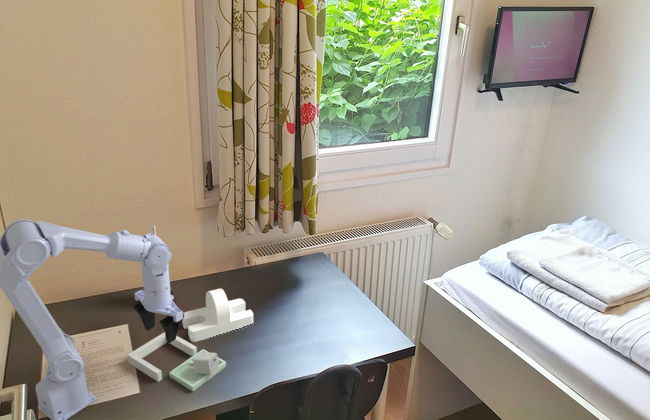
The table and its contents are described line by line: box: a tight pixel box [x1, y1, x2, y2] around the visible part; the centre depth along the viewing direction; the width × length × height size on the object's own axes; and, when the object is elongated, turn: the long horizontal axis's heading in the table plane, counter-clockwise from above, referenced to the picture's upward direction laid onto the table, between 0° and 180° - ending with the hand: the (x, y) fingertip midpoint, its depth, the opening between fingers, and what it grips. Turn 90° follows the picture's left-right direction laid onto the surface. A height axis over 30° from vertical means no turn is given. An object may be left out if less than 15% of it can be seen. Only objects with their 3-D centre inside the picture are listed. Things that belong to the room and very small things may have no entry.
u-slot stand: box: [181, 287, 254, 343], centre depth 143 cm, size 10×18×11 cm, turn 121°
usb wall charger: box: [187, 351, 219, 374], centre depth 126 cm, size 4×7×4 cm, turn 72°
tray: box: [169, 348, 227, 393], centre depth 127 cm, size 11×8×2 cm
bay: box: [127, 331, 198, 383], centre depth 130 cm, size 12×11×2 cm
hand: (160, 334), depth 124 cm, fingers open, 7 cm apart
